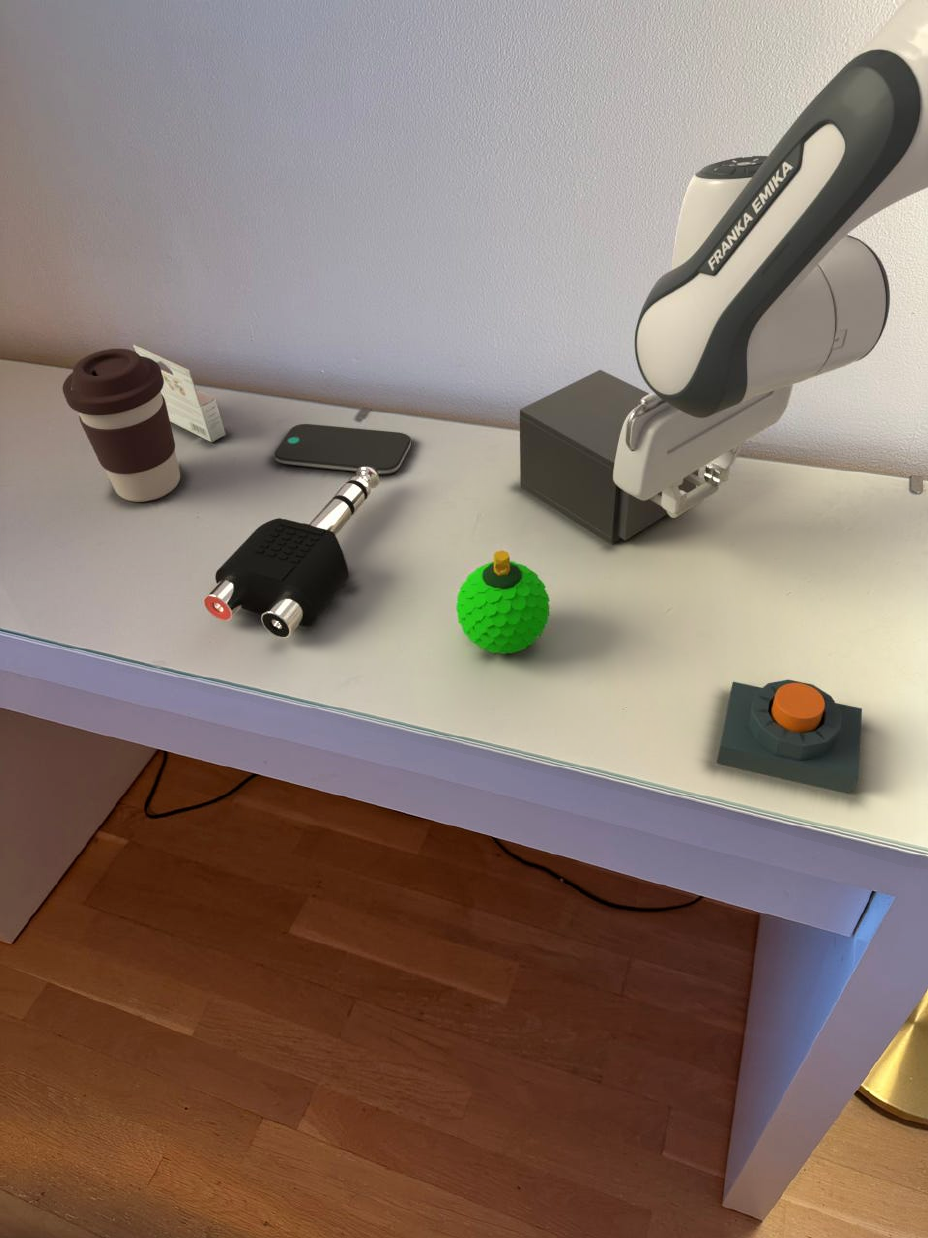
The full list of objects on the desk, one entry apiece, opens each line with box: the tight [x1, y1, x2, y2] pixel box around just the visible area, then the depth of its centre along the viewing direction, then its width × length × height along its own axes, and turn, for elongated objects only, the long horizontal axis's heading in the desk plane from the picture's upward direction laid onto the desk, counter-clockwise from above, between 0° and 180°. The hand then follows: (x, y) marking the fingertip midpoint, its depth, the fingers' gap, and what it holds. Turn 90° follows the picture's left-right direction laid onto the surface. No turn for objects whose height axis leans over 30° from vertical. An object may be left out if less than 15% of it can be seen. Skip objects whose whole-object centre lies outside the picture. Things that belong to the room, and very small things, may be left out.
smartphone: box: [274, 423, 412, 475], centre depth 107 cm, size 8×1×15 cm
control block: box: [716, 679, 863, 795], centre depth 72 cm, size 10×7×4 cm
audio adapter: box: [203, 466, 380, 639], centre depth 92 cm, size 11×5×25 cm
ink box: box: [132, 344, 226, 443], centre depth 110 cm, size 2×11×10 cm, turn 50°
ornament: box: [455, 549, 551, 655], centre depth 80 cm, size 8×8×10 cm
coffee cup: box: [61, 348, 181, 503], centre depth 100 cm, size 10×10×15 cm
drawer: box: [616, 469, 720, 541], centre depth 94 cm, size 17×10×8 cm, turn 40°
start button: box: [771, 683, 825, 733], centre depth 71 cm, size 4×4×2 cm
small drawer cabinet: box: [519, 369, 650, 545], centre depth 96 cm, size 14×12×10 cm
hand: (694, 494), depth 88 cm, fingers closed on drawer, 5 cm apart
